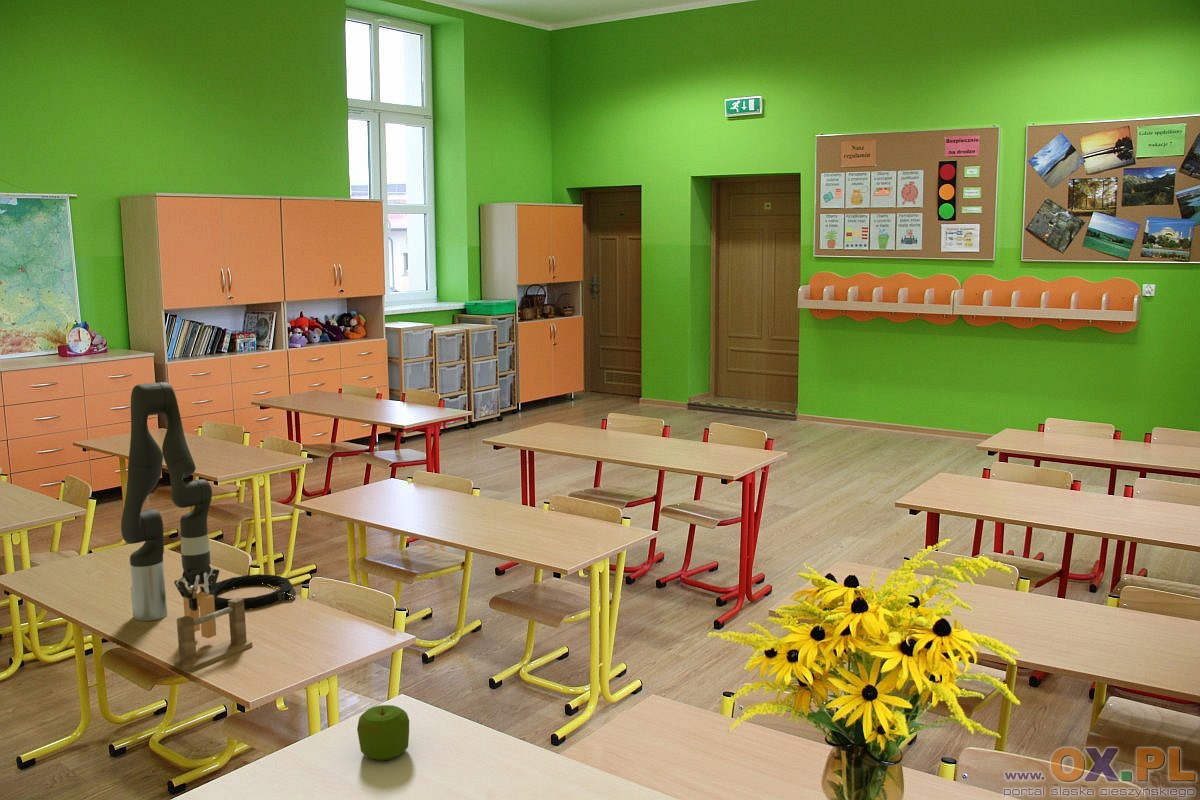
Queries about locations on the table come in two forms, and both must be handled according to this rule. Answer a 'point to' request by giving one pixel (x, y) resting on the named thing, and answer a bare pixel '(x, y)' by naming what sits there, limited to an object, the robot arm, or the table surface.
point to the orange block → (202, 613)
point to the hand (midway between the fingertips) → (199, 607)
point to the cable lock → (253, 580)
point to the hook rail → (215, 653)
